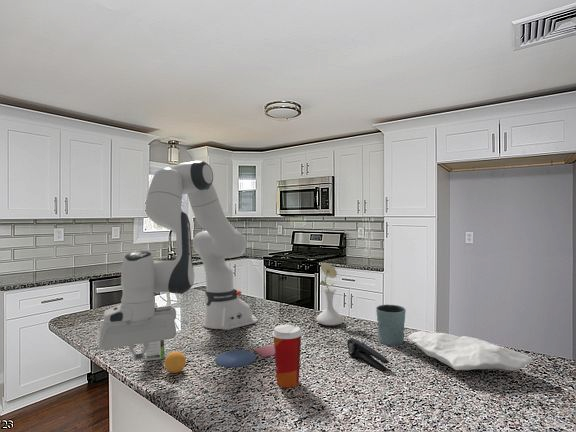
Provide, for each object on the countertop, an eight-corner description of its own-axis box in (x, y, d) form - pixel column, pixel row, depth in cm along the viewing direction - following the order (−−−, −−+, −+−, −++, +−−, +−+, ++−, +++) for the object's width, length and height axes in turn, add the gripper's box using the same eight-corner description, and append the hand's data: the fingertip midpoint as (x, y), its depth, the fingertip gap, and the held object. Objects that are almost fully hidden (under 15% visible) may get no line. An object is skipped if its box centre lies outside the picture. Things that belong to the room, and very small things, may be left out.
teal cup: (400, 336, 138) (400, 304, 138) (410, 346, 128) (410, 311, 128) (373, 337, 138) (372, 304, 138) (380, 347, 128) (380, 312, 127)
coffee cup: (285, 373, 109) (285, 322, 108) (308, 381, 103) (308, 327, 103) (266, 384, 102) (265, 329, 102) (289, 393, 97) (288, 335, 96)
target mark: (246, 347, 129) (246, 347, 129) (262, 361, 117) (262, 360, 117) (209, 355, 122) (209, 355, 122) (223, 370, 111) (223, 369, 111)
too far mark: (274, 344, 131) (274, 344, 131) (285, 352, 124) (285, 351, 124) (253, 349, 127) (253, 348, 127) (263, 357, 120) (263, 356, 120)
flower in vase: (349, 325, 151) (348, 264, 151) (324, 329, 147) (323, 266, 146) (333, 317, 163) (333, 260, 163) (310, 320, 159) (309, 261, 159)
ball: (183, 366, 114) (182, 346, 114) (188, 373, 109) (188, 353, 109) (162, 370, 111) (162, 350, 111) (167, 378, 106) (166, 357, 106)
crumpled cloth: (524, 396, 91) (525, 357, 92) (389, 359, 114) (391, 328, 114) (536, 376, 109) (537, 345, 110) (417, 348, 132) (419, 322, 132)
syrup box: (145, 361, 118) (144, 316, 118) (146, 354, 124) (145, 311, 123) (164, 359, 120) (163, 314, 119) (165, 352, 125) (164, 309, 125)
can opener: (342, 354, 123) (341, 337, 123) (359, 350, 126) (359, 333, 126) (377, 375, 107) (377, 356, 107) (396, 370, 110) (395, 351, 110)
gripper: (173, 303, 113) (173, 348, 113) (97, 312, 103) (98, 362, 103) (178, 307, 107) (178, 355, 107) (98, 317, 97) (99, 370, 97)
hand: (138, 359), depth 105 cm, fingers closed
